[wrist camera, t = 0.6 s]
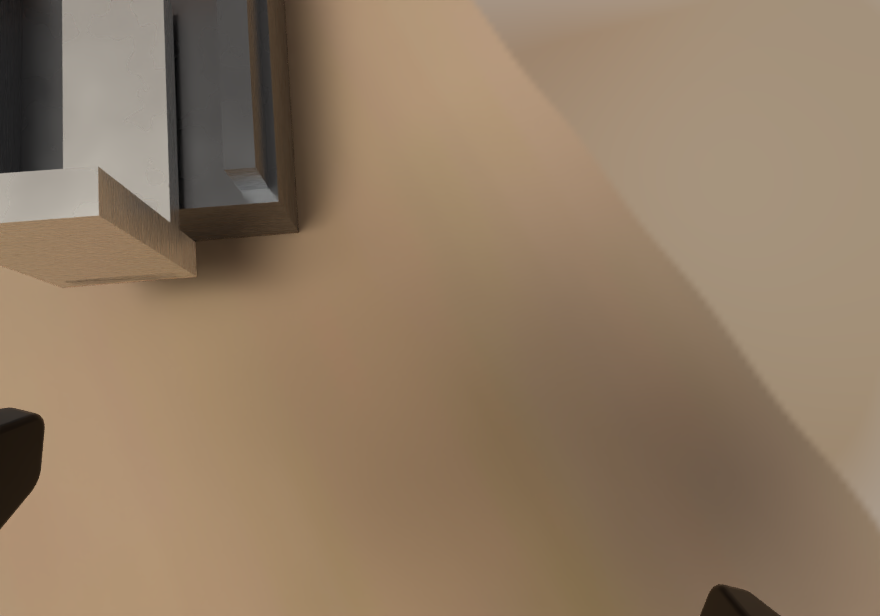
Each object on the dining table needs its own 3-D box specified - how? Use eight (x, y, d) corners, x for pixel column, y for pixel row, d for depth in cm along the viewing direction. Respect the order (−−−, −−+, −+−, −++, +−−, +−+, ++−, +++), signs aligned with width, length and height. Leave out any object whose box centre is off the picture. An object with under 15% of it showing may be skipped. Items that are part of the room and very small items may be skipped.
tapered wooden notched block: (196, 276, 22) (98, 215, 15) (62, 287, 22) (-97, 230, 15) (186, 4, 24) (93, -163, 17) (60, 11, 24) (-85, -154, 17)
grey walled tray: (298, 232, 27) (265, 181, 21) (46, 252, 27) (-59, 206, 21) (280, -56, 29) (246, -176, 23) (45, -42, 29) (-51, -161, 23)
